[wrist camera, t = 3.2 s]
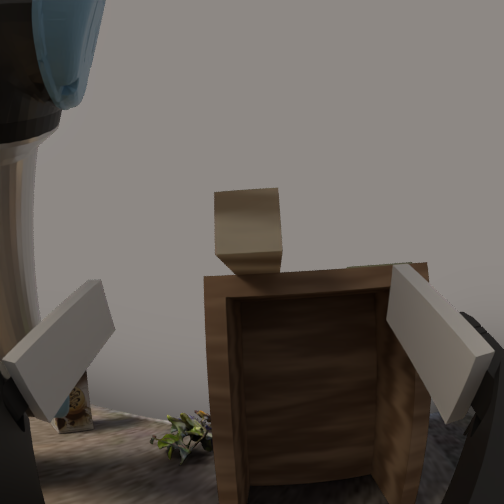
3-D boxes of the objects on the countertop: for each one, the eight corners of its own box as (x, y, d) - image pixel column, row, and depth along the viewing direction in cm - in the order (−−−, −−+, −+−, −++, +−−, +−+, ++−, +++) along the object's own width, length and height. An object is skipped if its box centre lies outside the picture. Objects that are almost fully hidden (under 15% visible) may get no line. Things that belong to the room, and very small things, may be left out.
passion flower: (209, 473, 46) (243, 433, 47) (177, 489, 36) (215, 446, 38) (169, 436, 51) (199, 396, 53) (134, 444, 42) (165, 399, 43)
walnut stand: (412, 512, 21) (426, 260, 27) (223, 534, 22) (203, 274, 28) (380, 467, 35) (382, 276, 41) (237, 480, 36) (226, 286, 42)
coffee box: (59, 434, 44) (48, 361, 47) (50, 424, 48) (41, 357, 51) (95, 429, 51) (86, 361, 55) (84, 421, 55) (76, 356, 58)
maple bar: (282, 250, 18) (278, 187, 19) (215, 254, 18) (214, 192, 19) (278, 285, 41) (276, 256, 42) (248, 287, 42) (247, 258, 42)
